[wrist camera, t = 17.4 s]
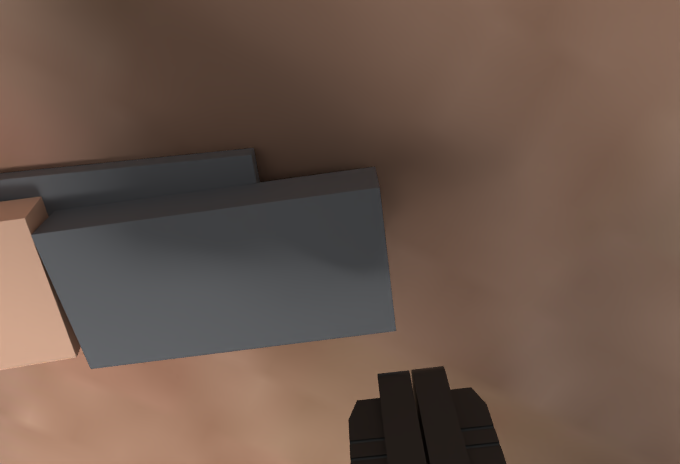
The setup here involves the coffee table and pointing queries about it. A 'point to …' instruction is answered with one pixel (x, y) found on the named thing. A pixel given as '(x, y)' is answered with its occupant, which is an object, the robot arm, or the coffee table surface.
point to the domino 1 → (29, 293)
